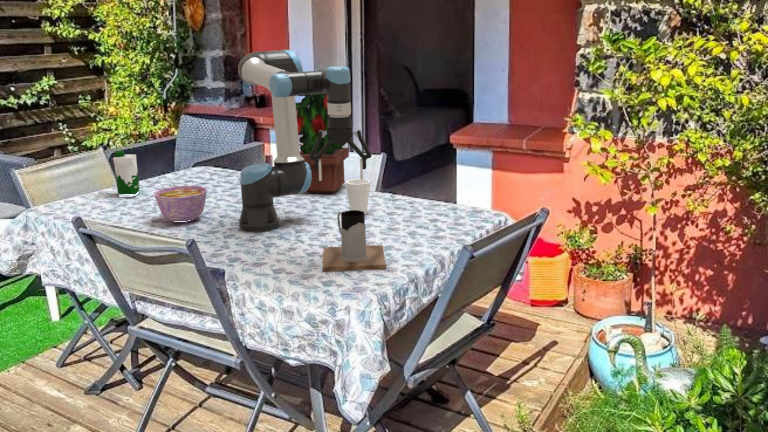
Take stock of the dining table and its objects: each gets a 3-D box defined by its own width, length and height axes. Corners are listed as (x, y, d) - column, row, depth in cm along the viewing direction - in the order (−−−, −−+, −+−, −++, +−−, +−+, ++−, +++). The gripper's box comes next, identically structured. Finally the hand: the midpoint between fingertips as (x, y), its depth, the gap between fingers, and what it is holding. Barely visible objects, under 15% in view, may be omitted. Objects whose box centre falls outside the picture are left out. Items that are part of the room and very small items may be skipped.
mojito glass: (122, 193, 351) (117, 149, 345) (142, 193, 350) (137, 149, 345) (115, 198, 342) (110, 153, 337) (136, 198, 342) (131, 153, 336)
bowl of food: (146, 225, 301) (143, 196, 298) (176, 211, 319) (174, 184, 316) (190, 229, 294) (188, 199, 291) (219, 215, 312) (216, 187, 309)
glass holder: (349, 264, 248) (347, 218, 243) (327, 252, 259) (326, 209, 255) (372, 258, 252) (371, 214, 248) (350, 247, 264) (349, 204, 259)
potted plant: (353, 185, 355) (350, 86, 343) (339, 197, 335) (335, 92, 322) (307, 183, 360) (302, 85, 348) (291, 195, 340) (285, 92, 327)
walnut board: (322, 271, 246) (322, 267, 245) (323, 251, 265) (323, 247, 264) (386, 269, 247) (385, 264, 246) (382, 249, 266) (382, 245, 265)
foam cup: (367, 217, 304) (366, 184, 301) (344, 216, 306) (343, 184, 303) (372, 210, 313) (371, 179, 310) (350, 209, 315) (349, 178, 312)
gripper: (299, 118, 247) (302, 183, 253) (378, 116, 248) (379, 181, 254) (301, 114, 254) (303, 177, 260) (377, 112, 255) (378, 175, 261)
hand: (341, 179), depth 257 cm, fingers open, 13 cm apart
